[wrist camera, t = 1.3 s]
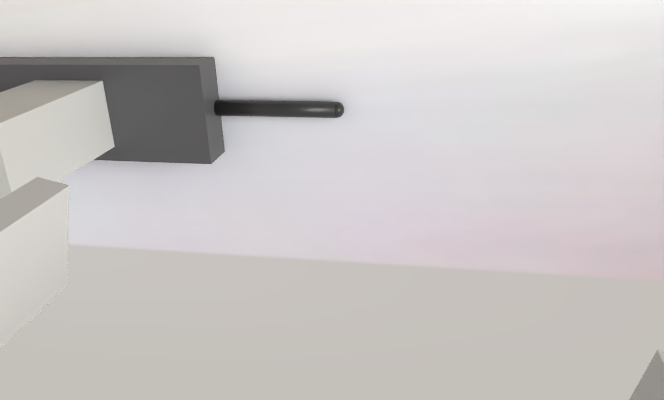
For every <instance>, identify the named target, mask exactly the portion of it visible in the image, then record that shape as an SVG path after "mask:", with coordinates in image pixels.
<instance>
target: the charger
mask: <svg viewBox="0 0 664 400" xmlns="http://www.w3.org/2000/svg"><path fill="white" fill-rule="evenodd" d="M113 147H115V145H114V140H113V134H112V129H111V123H110V118H109V113H108V107H107V102H106V96H105V91H104V86H103V81H80V80H34V81H32V82H29V83H26V84H23V85H20V86H17V87H14V88H11V89H9V90H6V91H3V92H0V199H1V198H3V197H5V196H6V195H8V194H10V193H11V192H13V191H15V190H16V189H18V188H20V187H21V186H23V185H25V184H26V183H28V182H30V181H31V180H33V179H35V178H36V177H40V178H44V179H47V180H51V181H54V182H58V181H60V180H62V179H63V178H65V177H66V176H68V175H70V174H71V173H73V172H75V171H76V170H78V169H79V168H81V167H83V166H84V165H86V164H87V163H89V162H91V161H92V160H94V159H96V158H97V157H99V156H100V155H102V154H104V153H105V152H107V151H109V150H110V149H112V148H113Z"/></svg>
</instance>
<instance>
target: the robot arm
mask: <svg viewBox="0 0 664 400" xmlns="http://www.w3.org/2000/svg"><path fill="white" fill-rule="evenodd" d="M68 221H69V185H65V184H62V183H58V182H54V181H51V180H47V179H44V178H40V177H36V178H35V179H33V180H31V181H30V182H28V183H26V184H25V185H23V186H21V187H20V188H18V189H16V190H15V191H13V192H11V193H10V194H8V195H6V196H5V197H3V198H1V199H0V348H1V347H2V346H3V345H4V344H5V343H7V342H8V341H9V340H10V339H11V338H12V337H13V336H14V335H15V334H16V333H17V332H18V331H19V330H20V329H22V328H23V327H24V326H25V325H26V324H27V323H28V322H29V321H30V320H31V319H32V318H33V317H34V316H36V314H38V313H39V312H40V311H41V310H42V309H43V308H44V307H45V306H46V305H48V303H50V302H51V301H52V300H53V299H54V298H55V297H56V296H57V295H58V294H59V293H60V292H61V291H63V290H64V289H65V288H66V287H67V276H68V274H67V273H68ZM629 400H664V352H663V351H659V350H657V352H656V353H655V355H654V357H653V359H652V360H651V362H650V364H649V366H648V368H647V369H646V371H645V373H644V375H643V377H642V378H641V380H640V382H639V384H638V385H637V387H636V389H635V391H634V392H633V394H632V396H631V398H630V399H629Z"/></svg>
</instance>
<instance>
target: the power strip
mask: <svg viewBox="0 0 664 400" xmlns="http://www.w3.org/2000/svg"><path fill="white" fill-rule="evenodd" d="M34 80H80V81H103V86H104V91H105V96H106V102H107V107H108V113H109V118H110V123H111V129H112V134H113V140H114V145H115V147H113V148H112V149H110V150H109V151H107V152H105V153H104V154H102V155H100V156H99V157H97V158H96V159H94V160H113V161H141V162H169V163H198V164H212V163H213V162H214V161H215V160H216V159H217V158H218V157H219V156H220V155H221V154H223V153H224V152H225V150H224V141H223V132H222V123H221V116H267V117H319V118H338V117H341V116H342V115H343V113H344V107H343V105H342V104H341V103H339V102H310V101H240V100H219V96H218V87H217V78H216V69H215V60H214V57H0V92H3V91H6V90H9V89H11V88H14V87H17V86H20V85H23V84H26V83H29V82H32V81H34Z"/></svg>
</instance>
